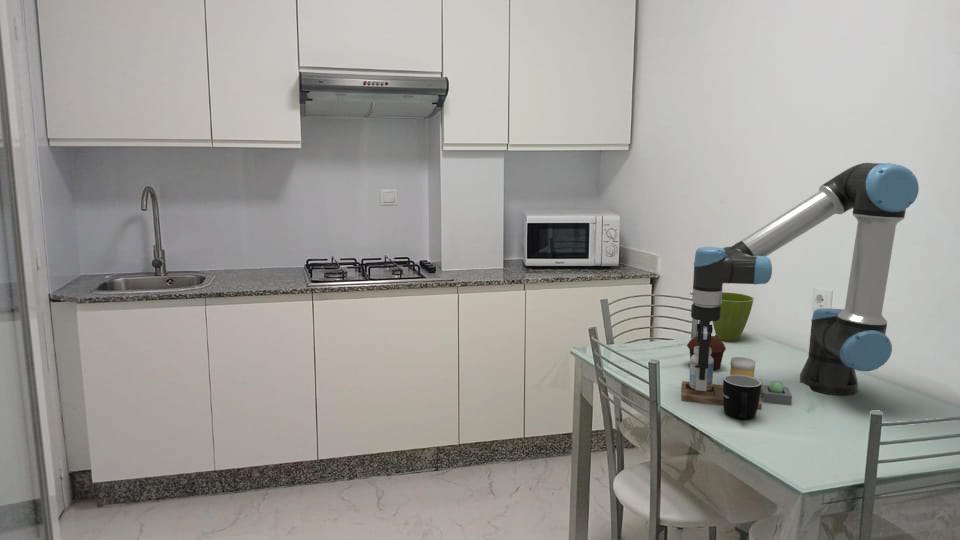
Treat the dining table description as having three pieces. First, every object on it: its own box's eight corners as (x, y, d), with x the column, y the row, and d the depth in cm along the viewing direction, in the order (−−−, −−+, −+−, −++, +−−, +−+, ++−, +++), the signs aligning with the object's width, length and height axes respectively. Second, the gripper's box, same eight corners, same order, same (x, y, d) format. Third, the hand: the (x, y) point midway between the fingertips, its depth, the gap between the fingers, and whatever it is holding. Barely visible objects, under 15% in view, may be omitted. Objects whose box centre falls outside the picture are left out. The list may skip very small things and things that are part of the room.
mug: (719, 409, 173) (722, 373, 171) (755, 413, 171) (758, 376, 169) (723, 427, 162) (726, 388, 160) (762, 431, 160) (765, 392, 158)
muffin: (722, 363, 212) (724, 333, 210) (726, 374, 201) (728, 342, 200) (684, 359, 215) (686, 330, 213) (686, 370, 204) (688, 339, 202)
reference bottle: (751, 396, 180) (754, 358, 178) (753, 404, 174) (756, 365, 172) (727, 394, 182) (730, 356, 180) (728, 402, 176) (731, 363, 174)
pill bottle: (710, 384, 183) (713, 345, 181) (713, 392, 177) (716, 352, 175) (687, 382, 184) (690, 344, 182) (690, 390, 178) (692, 350, 176)
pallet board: (756, 397, 182) (757, 388, 182) (760, 413, 171) (761, 404, 170) (681, 389, 188) (682, 380, 188) (681, 404, 177) (681, 395, 176)
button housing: (787, 399, 181) (788, 387, 180) (790, 408, 174) (792, 396, 174) (759, 396, 183) (760, 384, 182) (762, 405, 176) (763, 393, 176)
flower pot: (744, 334, 246) (747, 293, 243) (755, 346, 231) (758, 301, 228) (702, 332, 248) (705, 291, 245) (711, 344, 233) (714, 300, 230)
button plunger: (781, 394, 179) (782, 381, 179) (783, 398, 176) (784, 386, 175) (768, 392, 180) (769, 380, 180) (769, 396, 177) (770, 384, 176)
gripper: (691, 296, 186) (686, 373, 190) (691, 311, 168) (686, 396, 172) (719, 298, 184) (713, 376, 188) (722, 313, 166) (716, 399, 170)
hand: (700, 385), depth 180 cm, fingers open, 6 cm apart
